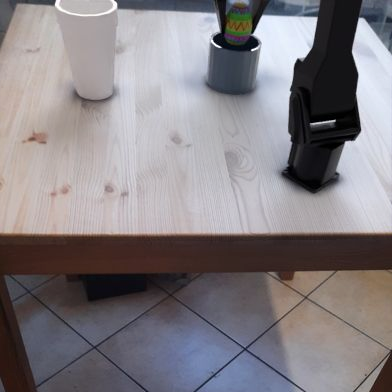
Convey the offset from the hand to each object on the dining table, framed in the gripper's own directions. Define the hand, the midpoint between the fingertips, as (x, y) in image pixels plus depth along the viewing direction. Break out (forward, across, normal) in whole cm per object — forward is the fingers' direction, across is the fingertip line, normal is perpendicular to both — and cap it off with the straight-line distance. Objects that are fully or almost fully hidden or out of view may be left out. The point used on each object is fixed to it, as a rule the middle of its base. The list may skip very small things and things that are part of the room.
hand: (236, 33), depth 84 cm
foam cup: (+8, -25, 0) cm, 26 cm away
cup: (+8, 0, 0) cm, 8 cm away
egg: (+1, 0, 0) cm, 1 cm away
